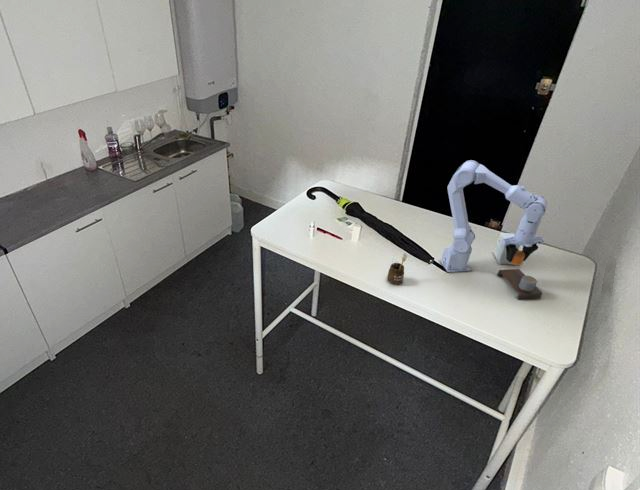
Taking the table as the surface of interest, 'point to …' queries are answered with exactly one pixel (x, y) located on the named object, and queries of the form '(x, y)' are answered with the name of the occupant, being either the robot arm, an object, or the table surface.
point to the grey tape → (527, 283)
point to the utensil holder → (396, 272)
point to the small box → (502, 248)
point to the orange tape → (518, 258)
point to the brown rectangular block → (514, 279)
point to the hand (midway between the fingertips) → (515, 260)
